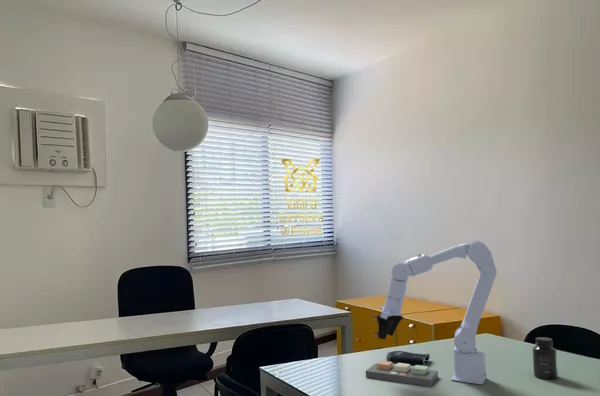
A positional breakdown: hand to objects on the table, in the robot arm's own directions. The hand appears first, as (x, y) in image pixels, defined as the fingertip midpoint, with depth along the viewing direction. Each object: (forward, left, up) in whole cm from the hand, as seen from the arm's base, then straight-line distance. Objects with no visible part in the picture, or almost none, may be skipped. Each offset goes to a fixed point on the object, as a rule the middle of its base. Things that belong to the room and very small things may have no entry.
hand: (385, 336), depth 160 cm
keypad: (-6, +2, -12) cm, 14 cm away
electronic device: (-2, -17, -13) cm, 21 cm away
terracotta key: (0, +1, -10) cm, 10 cm away
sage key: (-12, +1, -10) cm, 16 cm away
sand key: (-6, +1, -10) cm, 12 cm away
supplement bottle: (-47, -18, -12) cm, 52 cm away
